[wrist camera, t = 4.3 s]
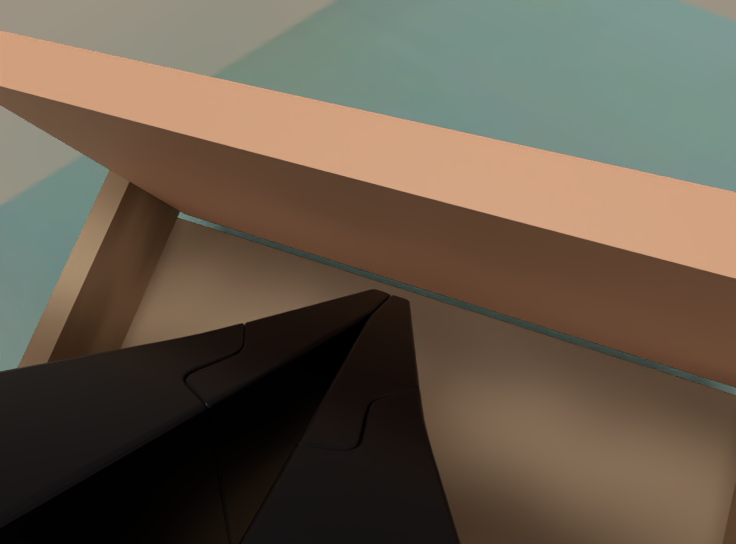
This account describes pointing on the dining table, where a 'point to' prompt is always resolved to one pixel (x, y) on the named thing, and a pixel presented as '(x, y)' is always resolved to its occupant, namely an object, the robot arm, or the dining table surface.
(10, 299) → the dining table surface
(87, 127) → the wooden panel
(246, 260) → the wooden box tray
